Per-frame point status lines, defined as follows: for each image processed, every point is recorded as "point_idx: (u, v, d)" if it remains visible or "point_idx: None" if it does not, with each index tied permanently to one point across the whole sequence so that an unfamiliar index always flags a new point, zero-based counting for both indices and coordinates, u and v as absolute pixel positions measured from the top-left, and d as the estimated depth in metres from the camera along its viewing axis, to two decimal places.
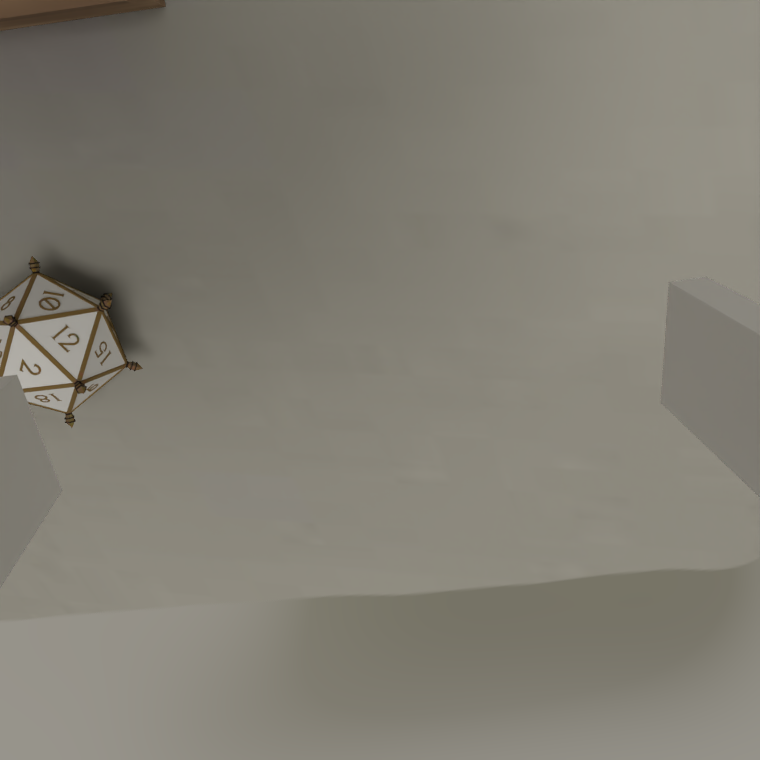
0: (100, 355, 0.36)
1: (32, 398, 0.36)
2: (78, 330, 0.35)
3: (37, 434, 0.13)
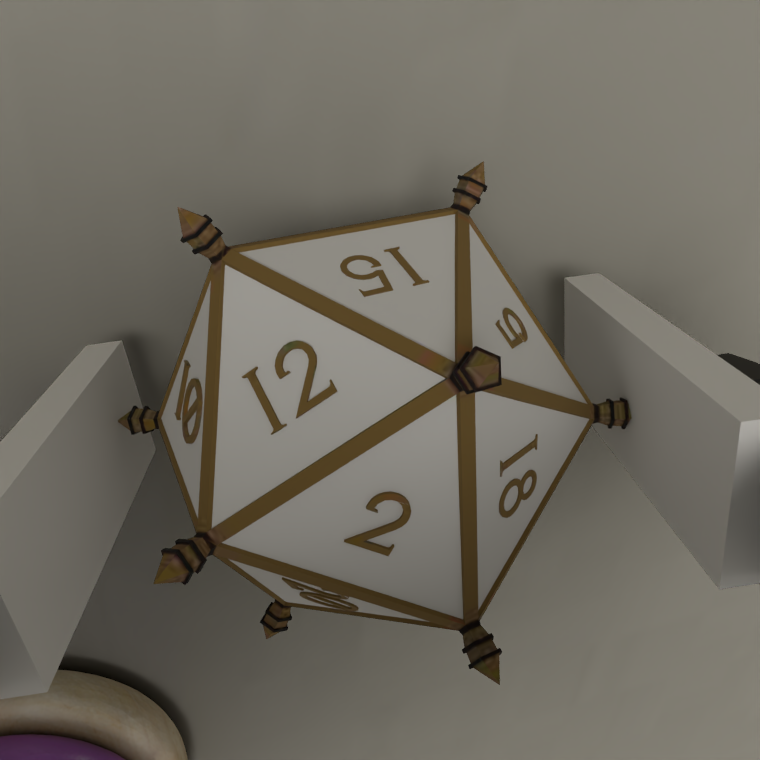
0: (387, 280, 0.10)
1: (511, 522, 0.10)
2: (271, 338, 0.09)
3: (137, 396, 0.14)
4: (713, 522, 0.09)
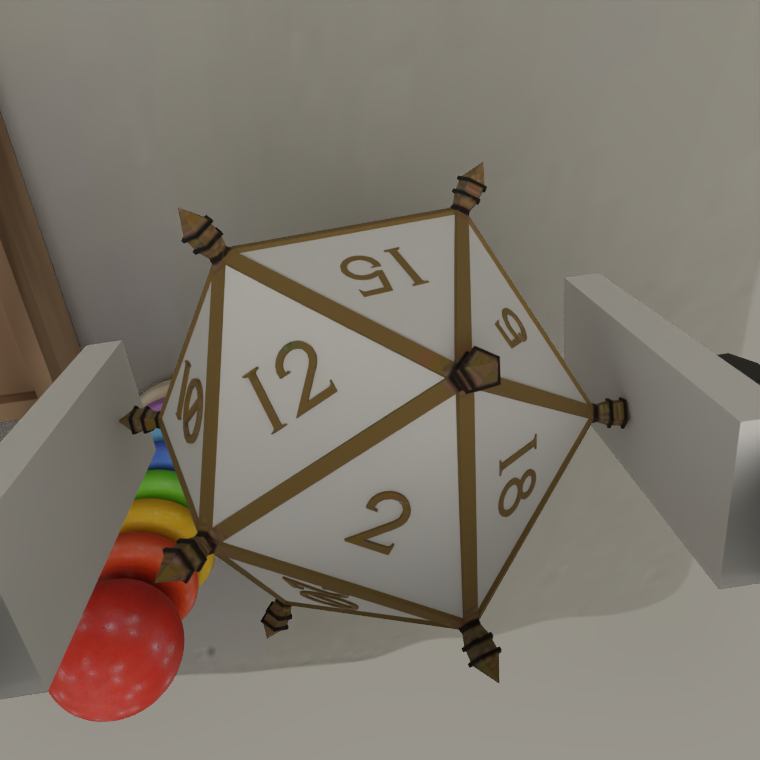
0: (386, 280, 0.10)
1: (510, 522, 0.10)
2: (272, 338, 0.09)
3: (136, 396, 0.14)
4: (713, 522, 0.09)
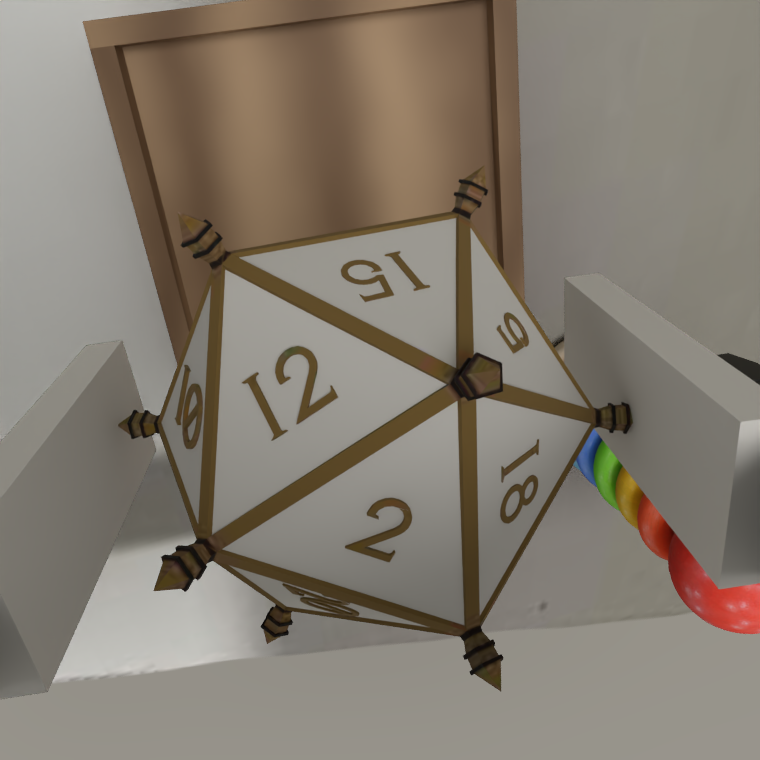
0: (388, 284, 0.10)
1: (513, 527, 0.10)
2: (272, 343, 0.09)
3: (137, 396, 0.14)
4: (713, 522, 0.09)
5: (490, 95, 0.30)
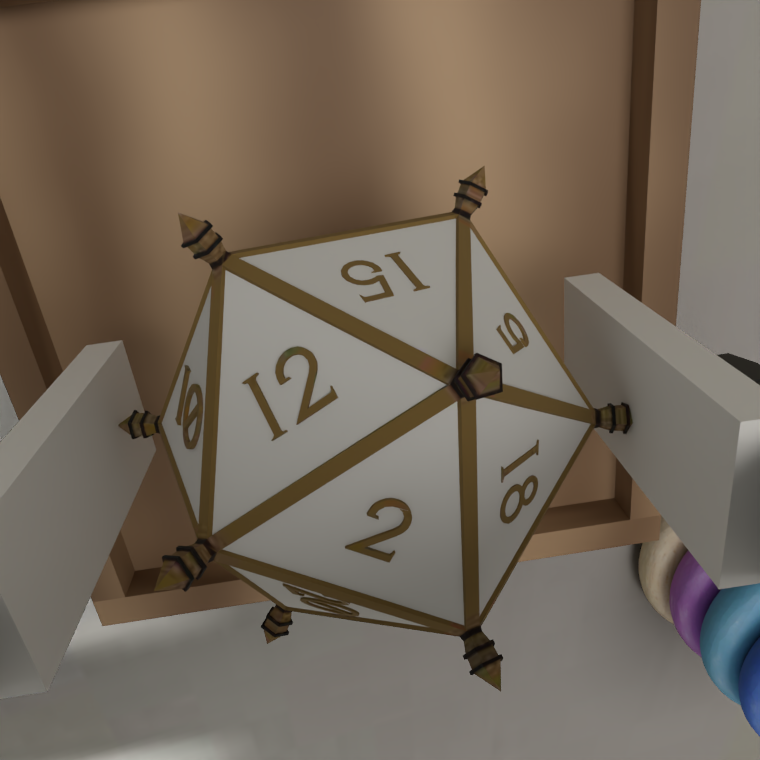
0: (388, 284, 0.10)
1: (512, 527, 0.10)
2: (272, 343, 0.09)
3: (137, 396, 0.14)
4: (713, 522, 0.09)
5: (629, 108, 0.17)
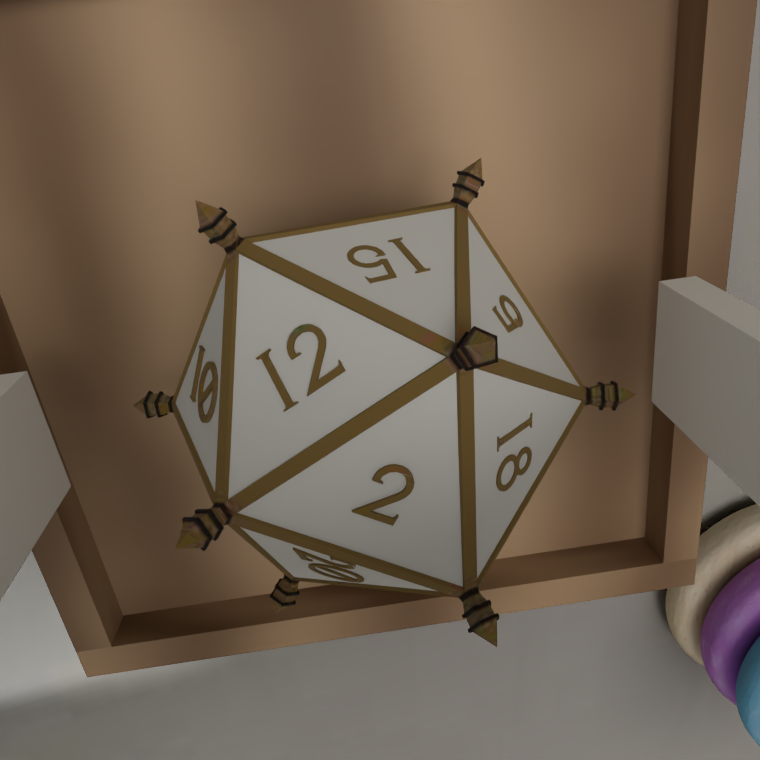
0: (391, 267, 0.10)
1: (507, 496, 0.11)
2: (283, 322, 0.10)
3: (47, 430, 0.13)
4: None
5: (671, 114, 0.15)
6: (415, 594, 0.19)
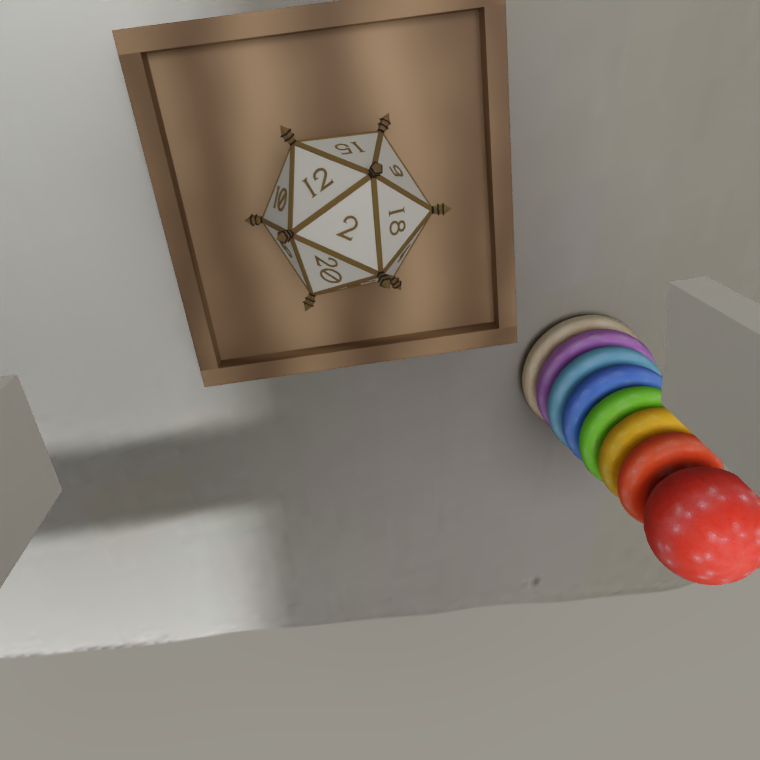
0: (350, 150, 0.29)
1: (395, 239, 0.29)
2: (311, 168, 0.28)
3: (37, 434, 0.13)
4: None
5: (483, 97, 0.33)
6: (372, 345, 0.37)
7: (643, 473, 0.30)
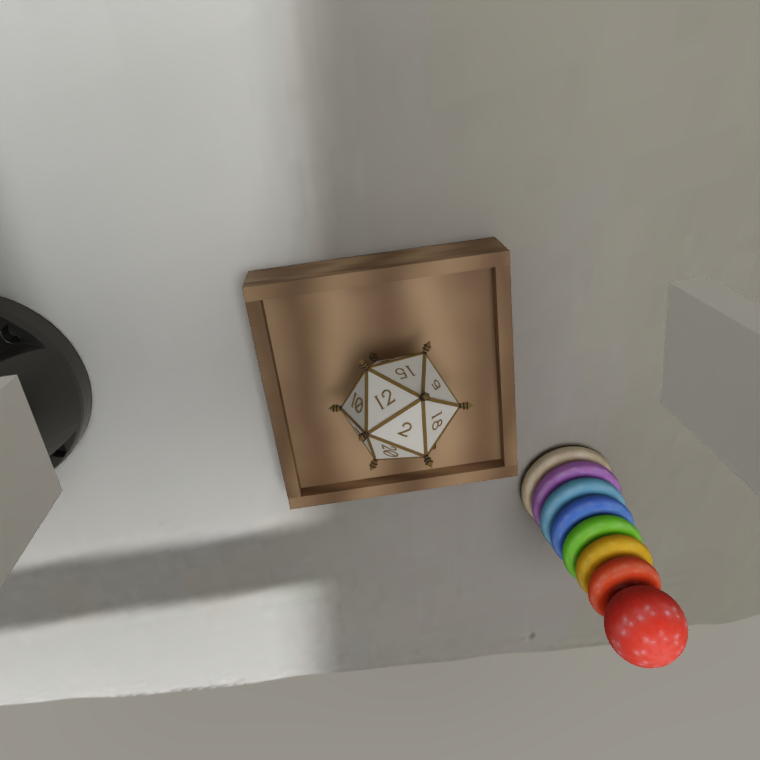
0: (406, 374, 0.42)
1: (435, 431, 0.43)
2: (380, 388, 0.42)
3: (38, 434, 0.13)
4: None
5: (493, 315, 0.47)
6: (412, 478, 0.51)
7: (604, 586, 0.44)
